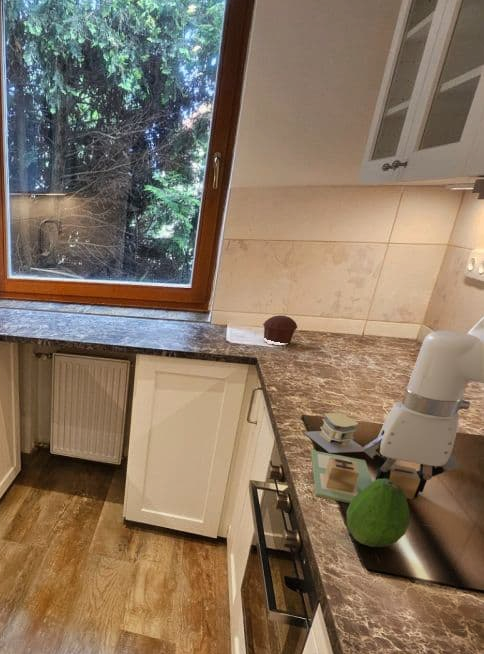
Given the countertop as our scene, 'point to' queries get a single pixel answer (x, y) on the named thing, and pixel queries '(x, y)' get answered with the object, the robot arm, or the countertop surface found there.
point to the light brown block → (341, 474)
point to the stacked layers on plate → (336, 434)
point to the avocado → (378, 514)
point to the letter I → (405, 479)
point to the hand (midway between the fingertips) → (396, 489)
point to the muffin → (279, 329)
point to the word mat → (321, 490)
